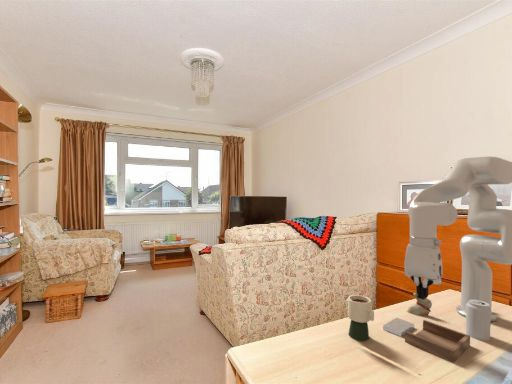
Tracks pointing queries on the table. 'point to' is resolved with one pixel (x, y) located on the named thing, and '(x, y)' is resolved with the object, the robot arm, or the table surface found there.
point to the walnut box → (439, 341)
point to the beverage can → (478, 319)
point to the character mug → (359, 316)
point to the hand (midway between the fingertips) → (422, 297)
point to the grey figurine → (420, 307)
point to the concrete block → (398, 327)
